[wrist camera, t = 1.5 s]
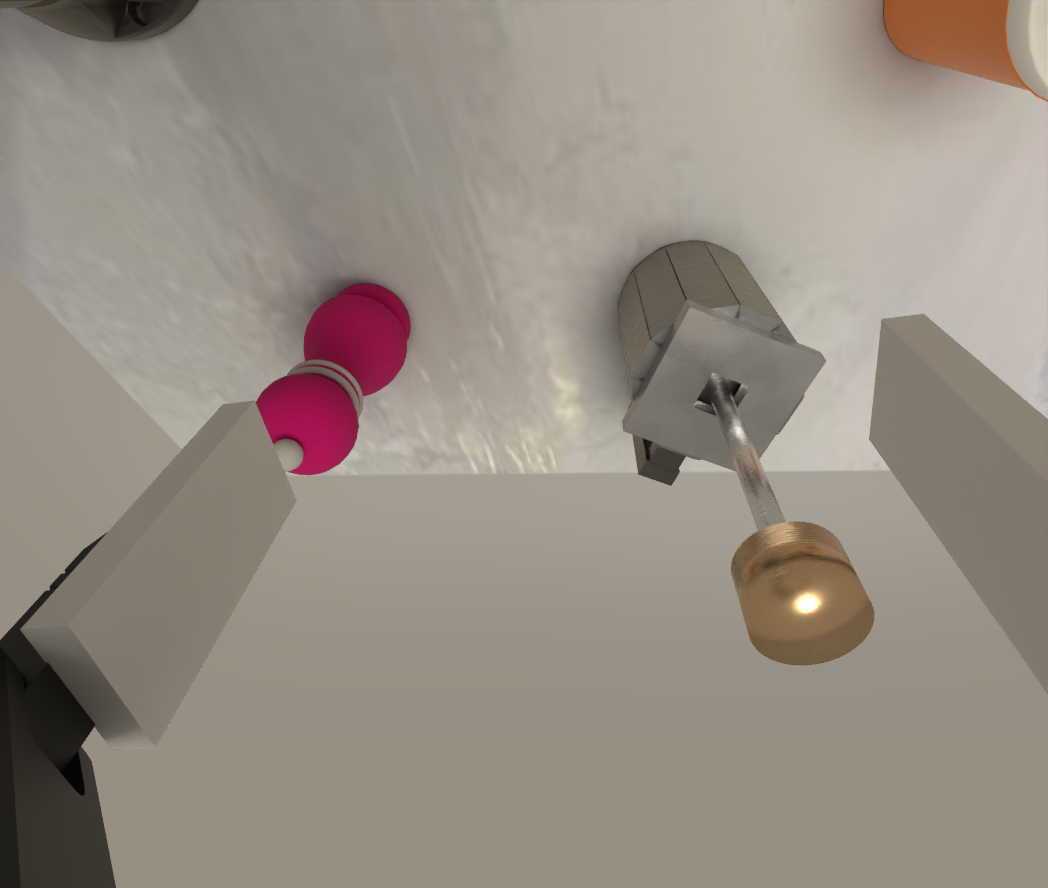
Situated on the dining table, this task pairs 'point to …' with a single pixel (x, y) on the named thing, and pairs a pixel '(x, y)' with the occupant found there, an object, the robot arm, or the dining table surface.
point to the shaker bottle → (976, 37)
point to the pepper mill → (335, 377)
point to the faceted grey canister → (704, 357)
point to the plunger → (787, 563)
